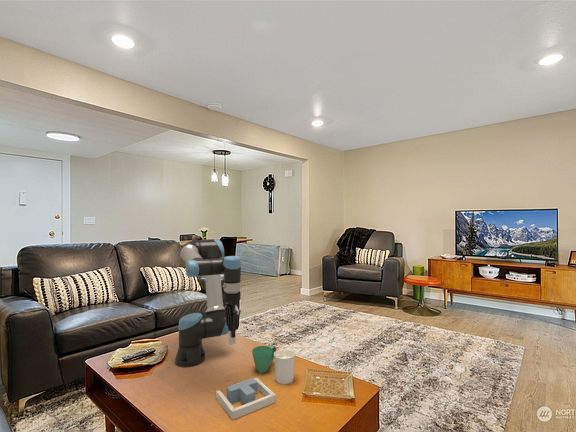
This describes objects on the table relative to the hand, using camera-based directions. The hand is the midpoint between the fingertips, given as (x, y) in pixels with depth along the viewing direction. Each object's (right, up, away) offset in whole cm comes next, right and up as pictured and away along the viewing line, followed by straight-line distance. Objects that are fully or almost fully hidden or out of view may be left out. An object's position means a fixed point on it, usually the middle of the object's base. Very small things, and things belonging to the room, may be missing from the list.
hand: (232, 343), depth 137 cm
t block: (+7, -19, -10) cm, 22 cm away
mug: (+14, -19, +15) cm, 28 cm away
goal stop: (+8, -19, -11) cm, 23 cm away
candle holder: (+23, -19, +5) cm, 30 cm away
